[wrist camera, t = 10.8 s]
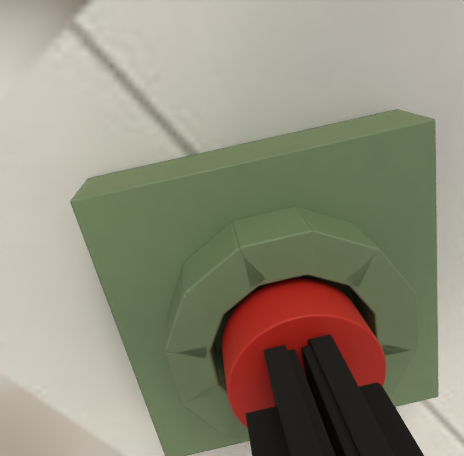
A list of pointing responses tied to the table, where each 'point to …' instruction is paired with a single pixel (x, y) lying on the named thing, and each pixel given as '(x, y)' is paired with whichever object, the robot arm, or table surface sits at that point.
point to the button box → (266, 256)
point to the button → (293, 338)
